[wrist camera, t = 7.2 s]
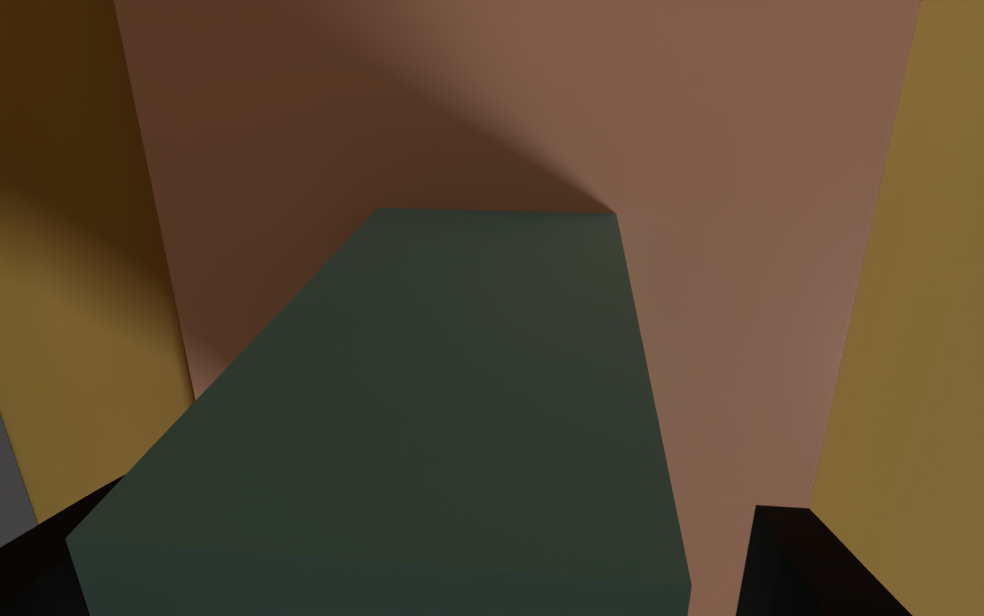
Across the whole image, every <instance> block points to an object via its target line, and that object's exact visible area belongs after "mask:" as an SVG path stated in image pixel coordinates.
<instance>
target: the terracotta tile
mask: <svg viewBox="0 0 984 616" xmlns="http://www.w3.org/2000/svg"><path fill="white" fill-rule="evenodd" d="M920 3H921V0H114V5H115V10H116V15H117V20H118V24H119V29H120V34H121V39H122V44H123V49H124V54H125V59H126V64H127V68H128V73H129V78H130V83H131V88H132V93H133V98H134V103H135V107H136V112H137V117H138V122H139V127H140V132H141V137H142V142H143V146H144V151H145V156H146V161H147V166H148V171H149V176H150V181H151V185H152V190H153V195H154V200H155V205H156V210H157V215H158V220H159V225H160V229H161V234H162V239H163V244H164V249H165V254H166V259H167V264H168V268H169V273H170V278H171V283H172V288H173V293H174V298H175V303H176V307H177V312H178V317H179V322H180V327H181V332H182V337H183V342H184V347H185V351H186V356H187V361H188V366H189V371H190V376H191V381H192V386H193V390H194V395H195V400H197V399H198V398H199V397H200V396H201V394H202V393H203V392H204V391H205V390H206V389H207V388H208V387H209V386H210V385H211V384H212V383H213V382H214V381H215V380H216V379H217V378H218V376H219V375H220V374H221V373H222V372H223V371H224V370H225V369H226V368H227V367H228V366H229V365H230V364H231V363H232V362H233V361H234V360H235V358H236V357H237V356H238V355H239V354H240V353H241V352H242V351H243V350H244V349H245V348H246V347H247V346H248V345H249V344H250V343H251V342H252V340H253V339H254V338H255V337H256V336H257V335H258V334H259V333H260V332H261V331H262V330H263V329H264V328H265V327H266V326H267V325H268V324H269V322H270V321H271V320H272V319H273V318H274V317H275V316H276V315H277V314H278V313H279V312H280V311H281V310H282V309H283V308H284V307H285V306H286V304H287V303H288V302H289V301H290V300H291V299H292V298H293V297H294V296H295V295H296V294H297V293H298V292H299V291H300V290H301V289H302V288H303V286H304V285H305V284H306V283H307V282H308V281H309V280H310V279H311V278H312V277H313V276H314V275H315V274H316V273H317V272H318V271H319V270H320V268H321V267H322V266H323V265H324V264H325V263H326V262H327V261H328V260H329V259H330V258H331V257H332V256H333V255H334V254H335V253H336V252H337V250H338V249H339V248H340V247H341V246H342V245H343V244H344V243H345V242H346V241H347V240H348V239H349V238H350V237H351V236H352V235H353V234H354V233H355V231H356V230H357V229H358V228H359V227H360V226H361V225H362V224H363V223H364V222H365V221H366V220H367V219H368V218H369V217H370V216H371V215H372V213H373V212H374V211H375V210H376V209H377V208H404V209H447V210H489V211H531V212H574V213H616V214H617V219H618V224H619V229H620V234H621V239H622V244H623V249H624V254H625V259H626V263H627V268H628V273H629V278H630V283H631V288H632V293H633V298H634V303H635V308H636V313H637V318H638V323H639V328H640V332H641V337H642V342H643V347H644V352H645V357H646V362H647V367H648V372H649V377H650V382H651V387H652V392H653V396H654V401H655V406H656V411H657V416H658V421H659V426H660V431H661V436H662V441H663V446H664V451H665V456H666V461H667V465H668V470H669V475H670V480H671V485H672V490H673V495H674V500H675V505H676V510H677V515H678V520H679V525H680V530H681V534H682V539H683V544H684V549H685V554H686V559H687V564H688V569H689V574H690V579H691V584H692V588H691V595H690V602H689V609H688V616H736V610H737V605H738V600H739V594H740V589H741V583H742V578H743V572H744V567H745V561H746V556H747V550H748V545H749V539H750V534H751V528H752V523H753V517H754V512H755V506H756V505H765V506H781V507H797V508H809V505H810V500H811V496H812V491H813V487H814V482H815V478H816V473H817V468H818V464H819V459H820V455H821V450H822V446H823V441H824V437H825V432H826V428H827V423H828V419H829V414H830V410H831V405H832V401H833V396H834V392H835V387H836V383H837V378H838V373H839V369H840V364H841V360H842V355H843V351H844V346H845V342H846V337H847V333H848V328H849V324H850V319H851V315H852V310H853V306H854V301H855V297H856V292H857V288H858V283H859V279H860V274H861V269H862V265H863V260H864V256H865V251H866V247H867V242H868V238H869V233H870V229H871V224H872V220H873V215H874V211H875V206H876V202H877V197H878V193H879V188H880V184H881V179H882V174H883V170H884V165H885V161H886V156H887V152H888V147H889V143H890V138H891V134H892V129H893V125H894V120H895V116H896V111H897V107H898V102H899V98H900V93H901V89H902V84H903V79H904V75H905V70H906V66H907V61H908V57H909V52H910V48H911V43H912V39H913V34H914V30H915V25H916V21H917V16H918V12H919V7H920Z"/></svg>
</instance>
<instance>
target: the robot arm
mask: <svg viewBox="0 0 984 616" xmlns="http://www.w3.org/2000/svg"><path fill="white" fill-rule="evenodd" d="M125 475H126V474H125ZM125 475H123V476H122V477H120V478H118V479H116V480H114V481H112V482H111V483H109V484H107V485H105V486H104V487H102V488H100V489H98V490H96V491H95V492H93V493H91V494H90V495H88V496H86V497H84V498H83V499H81V500H79V501H78V502H76V503H74V504H73V505H71V506H69V507H67V508H66V509H64V510H62V511H61V512H59V513H57V514H56V515H54V516H52V517H51V518H49V519H47V520H46V521H44V522H42V523H41V524H39V525H37V526H36V527H34V528H32V529H30V530H29V531H27V532H25V533H24V534H22V535H20V536H19V537H17V538H15V539H13V540H12V541H10V542H8V543H7V544H5V545H3V546H2V547H0V616H90V614H89V610H88V607H87V604H86V601H85V598H84V595H83V592H82V589H81V586H80V582H79V579H78V576H77V573H76V570H75V567H74V564H73V561H72V558H71V555H70V551H69V548H68V545H67V542H66V539H65V538H66V537H67V536H68V535H69V534H70V533H71V532H72V531H73V530H74V529H75V528H76V527H77V526H78V525H79V524H80V523H81V521H82V520H83V519H84V518H85V517H86V516H87V515H88V514H89V513H90V512H91V511H92V510H93V509H94V508H95V507H96V506H97V505H98V503H99V502H100V501H101V500H102V499H103V498H104V497H105V496H106V495H107V494H108V493H109V492H110V491H111V490H112V489H113V488H114V487H115V486H116V484H117V483H118V482H119V481H120V480H121V479H122V478H123V477H124V476H125ZM736 616H912V615H911V614H910V613H909V612H908V611H907V610H906V609H905V608H904V607H903V606H902V605H901V604H900V603H899V602H898V601H897V600H896V599H895V598H894V596H893V595H892V594H891V593H890V592H889V591H888V590H887V589H886V588H885V587H884V586H883V585H882V584H881V583H880V582H879V581H878V580H877V579H876V578H875V577H874V576H873V575H872V574H871V573H870V572H869V571H868V570H867V568H866V567H865V566H864V565H863V564H862V563H861V562H860V561H859V560H858V559H857V558H856V557H855V556H854V555H853V554H852V553H851V552H850V551H849V550H848V549H847V547H846V546H845V545H844V544H843V543H842V542H841V541H840V540H839V539H838V538H837V537H836V536H835V535H834V534H833V533H832V532H831V531H830V530H829V529H828V527H827V526H826V525H825V524H824V523H823V522H822V521H821V520H820V519H819V518H818V517H817V516H816V515H815V514H814V513H813V512H812V511H811V510H810V509H809V508H797V507H781V506H765V505H756V506H755V512H754V517H753V523H752V528H751V534H750V539H749V545H748V550H747V556H746V561H745V567H744V572H743V578H742V583H741V589H740V594H739V600H738V605H737V610H736Z"/></svg>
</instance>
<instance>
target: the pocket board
mask: <svg viewBox="0 0 984 616" xmlns="http://www.w3.org/2000/svg"><path fill="white" fill-rule="evenodd" d="M36 526H37V522H36V519H35V516H34V513H33V510H32V507H31V504H30V501H29V498H28V495H27V492H26V489H25V486H24V483H23V480H22V477H21V475H20V472H19V469H18V466H17V463H16V460H15V457H14V454H13V451H12V448H11V445H10V442H9V439H8V436H7V433H6V430H5V427H4V424H3V421H2V418H1V416H0V547H2V546H3V545H5V544H7V543H8V542H10V541H12V540H13V539H15V538H17V537H19V536H20V535H22V534H24V533H25V532H27V531H29V530H30V529H32V528H34V527H36Z"/></svg>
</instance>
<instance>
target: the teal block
mask: <svg viewBox="0 0 984 616" xmlns="http://www.w3.org/2000/svg"><path fill="white" fill-rule="evenodd" d="M65 539H66V542H67V545H68V548H69V551H70V555H71V558H72V561H73V564H74V567H75V570H76V573H77V576H78V579H79V582H80V586H81V589H82V592H83V595H84V598H85V601H86V604H87V607H88V610H89V614H90V616H688V609H689V602H690V595H691V588H692V584H691V579H690V574H689V569H688V564H687V559H686V554H685V549H684V544H683V539H682V534H681V530H680V525H679V520H678V515H677V510H676V505H675V500H674V495H673V490H672V485H671V480H670V475H669V470H668V465H667V461H666V456H665V451H664V446H663V441H662V436H661V431H660V426H659V421H658V416H657V411H656V406H655V401H654V396H653V392H652V387H651V382H650V377H649V372H648V367H647V362H646V357H645V352H644V347H643V342H642V337H641V332H640V328H639V323H638V318H637V313H636V308H635V303H634V298H633V293H632V288H631V283H630V278H629V273H628V268H627V263H626V259H625V254H624V249H623V244H622V239H621V234H620V229H619V224H618V219H617V214H616V213H574V212H531V211H489V210H447V209H404V208H377V209H376V210H375V211H374V212H373V213H372V215H371V216H370V217H369V218H368V219H367V220H366V221H365V222H364V223H363V224H362V225H361V226H360V227H359V228H358V229H357V230H356V231H355V233H354V234H353V235H352V236H351V237H350V238H349V239H348V240H347V241H346V242H345V243H344V244H343V245H342V246H341V247H340V248H339V249H338V250H337V252H336V253H335V254H334V255H333V256H332V257H331V258H330V259H329V260H328V261H327V262H326V263H325V264H324V265H323V266H322V267H321V268H320V270H319V271H318V272H317V273H316V274H315V275H314V276H313V277H312V278H311V279H310V280H309V281H308V282H307V283H306V284H305V285H304V286H303V288H302V289H301V290H300V291H299V292H298V293H297V294H296V295H295V296H294V297H293V298H292V299H291V300H290V301H289V302H288V303H287V304H286V306H285V307H284V308H283V309H282V310H281V311H280V312H279V313H278V314H277V315H276V316H275V317H274V318H273V319H272V320H271V321H270V322H269V324H268V325H267V326H266V327H265V328H264V329H263V330H262V331H261V332H260V333H259V334H258V335H257V336H256V337H255V338H254V339H253V340H252V342H251V343H250V344H249V345H248V346H247V347H246V348H245V349H244V350H243V351H242V352H241V353H240V354H239V355H238V356H237V357H236V358H235V360H234V361H233V362H232V363H231V364H230V365H229V366H228V367H227V368H226V369H225V370H224V371H223V372H222V373H221V374H220V375H219V376H218V378H217V379H216V380H215V381H214V382H213V383H212V384H211V385H210V386H209V387H208V388H207V389H206V390H205V391H204V392H203V393H202V394H201V396H200V397H199V398H198V399H197V400H196V401H195V402H194V403H193V404H192V405H191V406H190V407H189V408H188V409H187V410H186V411H185V412H184V414H183V415H182V416H181V417H180V418H179V419H178V420H177V421H176V422H175V423H174V424H173V425H172V426H171V427H170V428H169V429H168V430H167V432H166V433H165V434H164V435H163V436H162V437H161V438H160V439H159V440H158V441H157V442H156V443H155V444H154V445H153V446H152V447H151V448H150V450H149V451H148V452H147V453H146V454H145V455H144V456H143V457H142V458H141V459H140V460H139V461H138V462H137V463H136V464H135V465H134V466H133V468H132V469H131V470H130V471H129V472H128V473H127V474H126V475H125V476H124V477H123V478H122V479H121V480H120V481H119V482H118V483H117V484H116V486H115V487H114V488H113V489H112V490H111V491H110V492H109V493H108V494H107V495H106V496H105V497H104V498H103V499H102V500H101V501H100V502H99V503H98V505H97V506H96V507H95V508H94V509H93V510H92V511H91V512H90V513H89V514H88V515H87V516H86V517H85V518H84V519H83V520H82V521H81V523H80V524H79V525H78V526H77V527H76V528H75V529H74V530H73V531H72V532H71V533H70V534H69V535H68V536H67V537H66V538H65Z"/></svg>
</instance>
